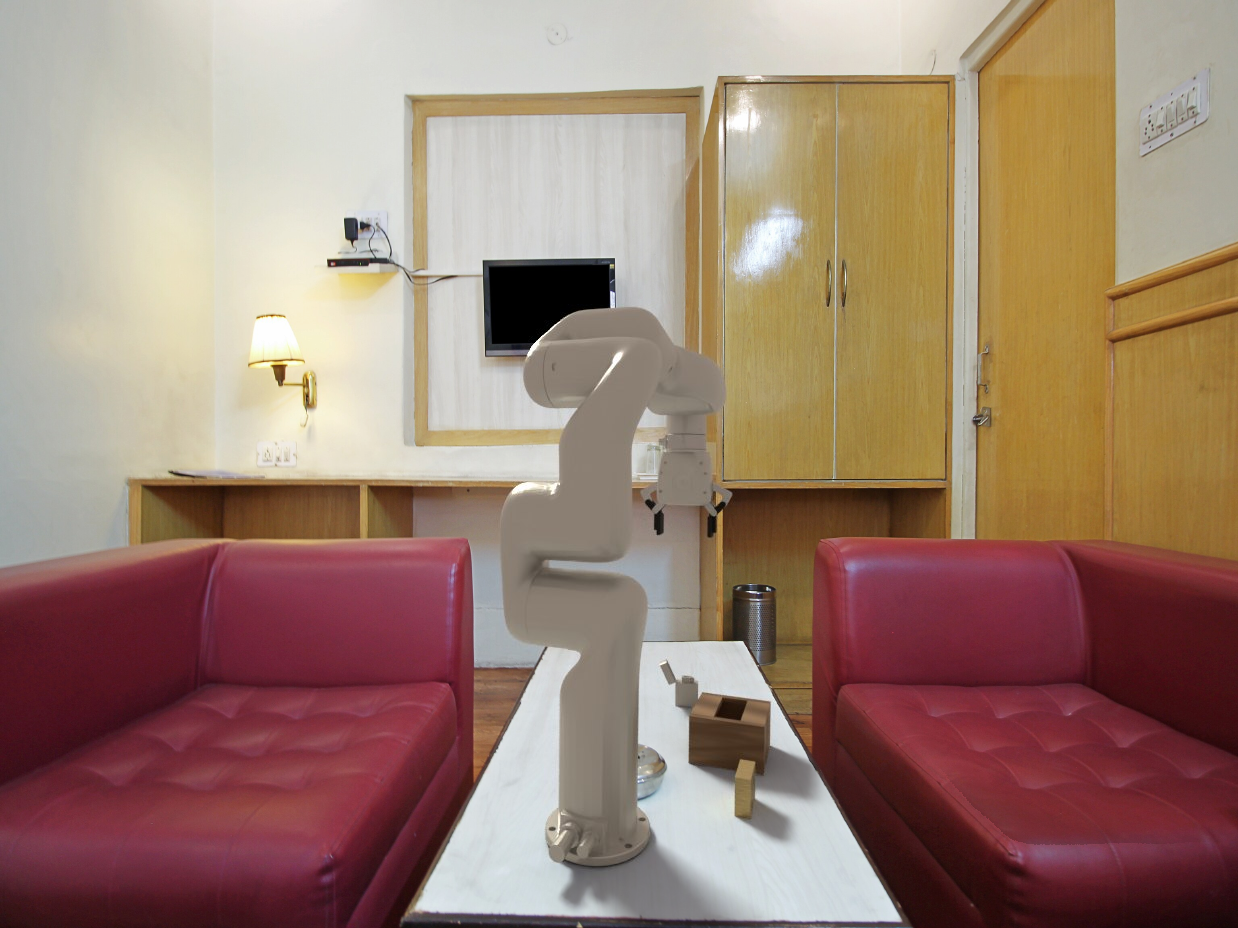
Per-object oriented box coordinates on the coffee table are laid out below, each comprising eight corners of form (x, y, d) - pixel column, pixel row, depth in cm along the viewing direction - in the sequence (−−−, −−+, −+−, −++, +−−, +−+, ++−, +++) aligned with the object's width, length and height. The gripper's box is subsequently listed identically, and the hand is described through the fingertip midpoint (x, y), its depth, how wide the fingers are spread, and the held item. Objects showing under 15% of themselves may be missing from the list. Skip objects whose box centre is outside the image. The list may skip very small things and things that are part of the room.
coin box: (763, 775, 89) (764, 727, 89) (688, 762, 92) (689, 715, 92) (770, 745, 98) (770, 701, 98) (701, 734, 102) (702, 692, 102)
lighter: (698, 703, 115) (698, 660, 115) (697, 707, 113) (698, 663, 113) (659, 701, 116) (660, 658, 116) (659, 704, 114) (659, 661, 114)
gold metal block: (750, 819, 78) (750, 780, 78) (734, 816, 79) (734, 777, 79) (754, 798, 83) (755, 761, 83) (739, 796, 83) (740, 759, 83)
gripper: (636, 444, 115) (635, 535, 115) (729, 444, 110) (728, 540, 110) (646, 445, 122) (645, 531, 122) (734, 445, 117) (733, 535, 117)
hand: (684, 535), depth 116 cm, fingers open, 9 cm apart
